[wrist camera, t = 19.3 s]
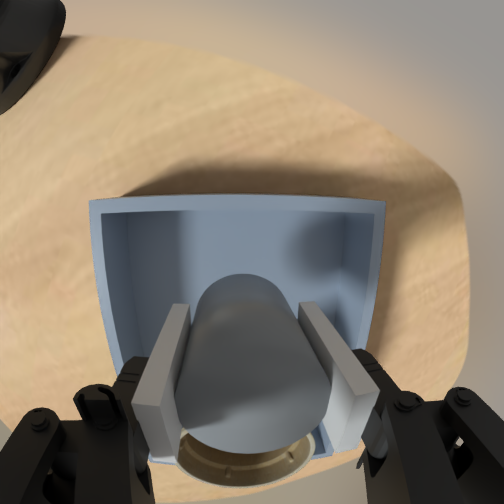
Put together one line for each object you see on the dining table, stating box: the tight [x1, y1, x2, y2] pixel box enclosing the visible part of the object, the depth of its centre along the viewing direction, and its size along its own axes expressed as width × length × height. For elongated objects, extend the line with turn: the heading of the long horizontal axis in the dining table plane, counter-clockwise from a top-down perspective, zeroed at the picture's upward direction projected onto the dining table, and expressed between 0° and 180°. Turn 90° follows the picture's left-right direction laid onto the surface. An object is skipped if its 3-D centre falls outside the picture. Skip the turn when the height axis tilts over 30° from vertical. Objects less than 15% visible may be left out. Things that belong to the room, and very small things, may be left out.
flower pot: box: [175, 427, 316, 488], centre depth 18 cm, size 9×9×9 cm
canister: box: [174, 274, 331, 454], centre depth 11 cm, size 5×5×7 cm
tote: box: [89, 193, 386, 465], centre depth 19 cm, size 24×18×5 cm
